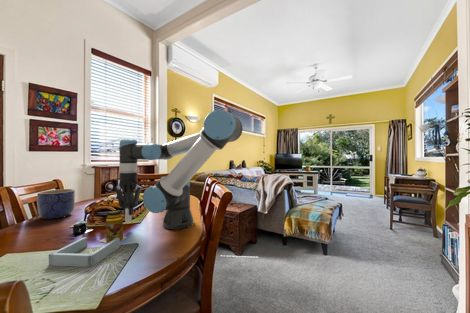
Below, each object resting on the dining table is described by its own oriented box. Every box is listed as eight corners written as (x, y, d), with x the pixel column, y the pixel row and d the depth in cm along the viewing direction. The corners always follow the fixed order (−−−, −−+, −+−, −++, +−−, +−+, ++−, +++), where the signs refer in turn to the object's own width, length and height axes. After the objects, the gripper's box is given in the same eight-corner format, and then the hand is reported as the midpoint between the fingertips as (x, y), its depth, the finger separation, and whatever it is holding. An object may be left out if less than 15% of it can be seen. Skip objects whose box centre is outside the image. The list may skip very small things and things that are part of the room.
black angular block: (73, 239, 88) (73, 229, 88) (59, 238, 89) (59, 228, 89) (97, 229, 100) (97, 220, 100) (84, 228, 101) (84, 219, 101)
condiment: (112, 244, 81) (112, 214, 81) (98, 241, 85) (98, 212, 85) (128, 237, 88) (128, 209, 88) (114, 235, 91) (114, 208, 91)
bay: (119, 247, 79) (119, 238, 79) (91, 266, 65) (91, 255, 65) (84, 246, 80) (84, 237, 80) (48, 265, 66) (48, 254, 66)
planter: (37, 216, 120) (37, 191, 120) (73, 211, 132) (73, 188, 132) (37, 223, 108) (36, 194, 108) (76, 216, 119) (76, 191, 119)
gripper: (145, 171, 101) (145, 219, 101) (120, 171, 102) (120, 218, 102) (137, 172, 93) (137, 224, 93) (110, 172, 94) (109, 223, 94)
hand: (128, 221), depth 97 cm, fingers closed
